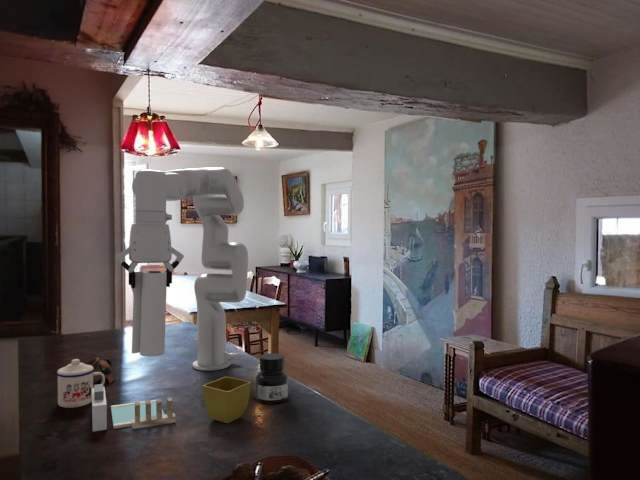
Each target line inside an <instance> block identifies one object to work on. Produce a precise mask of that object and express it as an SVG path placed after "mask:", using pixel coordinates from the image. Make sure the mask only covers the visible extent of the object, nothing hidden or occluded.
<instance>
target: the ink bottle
mask: <svg viewBox="0 0 640 480" xmlns="http://www.w3.org/2000/svg"><path fill="white" fill-rule="evenodd" d="M259 370H260V371H259V372H258V373H257V374H256V376H255V400H256V401H257V402H259V403H261V404H267V405H270V404H271V405H272V404H280V403H281V404H282V403H284V402H285V401H287V400H288V396H289V393H288V392H289V388H288V387H289V386H288V385H289V378H288V374H287V373H286V372H285V371H284V370H285V355H283V354H281V353H265V354H261V355H260V356H259Z"/></svg>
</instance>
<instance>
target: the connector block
mask: <svg viewBox="0 0 640 480" xmlns="http://www.w3.org/2000/svg"><path fill="white" fill-rule="evenodd" d="M105 389H106V388H105V386H104V385H103V384H98V383H97V384H93V388H92V402H91V417H92V420H91V421H92V424H91V425H92V432H93V433H94V432H98V431H99V432H100V431H106V430H107V428H108V427H107V425H108V424H107V419H108V418H107V415H108V413H107V411H108V410H107V409H108V407H107V405H108V404H107V398H106V397H107V396H106V390H105Z"/></svg>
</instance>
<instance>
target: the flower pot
mask: <svg viewBox="0 0 640 480" xmlns="http://www.w3.org/2000/svg"><path fill="white" fill-rule="evenodd" d="M251 385H252V381H248V380H245V379H240V378H235V377H232V376H223V377H221V378H219V379H216V380H214V381H211V382H208V383H207V382H206V383H205V384H203V385H202V387H201V388H202V392H203V399H204V404H205V408H206V410H207V413H208V414H209V415H210V418H212V419H213V420H215V421H218V422H220V423H225V424H230V423H232V422H234V421H236V420H238V419H240V418H241V417H242V416H243V414H244V413H245V411H246V409H247V407H248V404H249V401H250V394H251V393H250V392H251V387H252V386H251Z"/></svg>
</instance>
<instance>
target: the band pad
mask: <svg viewBox="0 0 640 480" xmlns="http://www.w3.org/2000/svg"><path fill="white" fill-rule="evenodd" d="M146 401H147V400H144V401H143V400H142V401H138V402H139V403H140V418H144V417H146ZM150 402H151V416H156V399H153V400H150ZM110 411H111V419H112V420H111V421H112V427H113V429H114V430H116V429H121V428H128V427H132V423H131V419H135V402H130V403H128V402H127V403H121V404H114V405H110ZM164 414H165V412H164V410H163V408H162V415H164Z"/></svg>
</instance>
